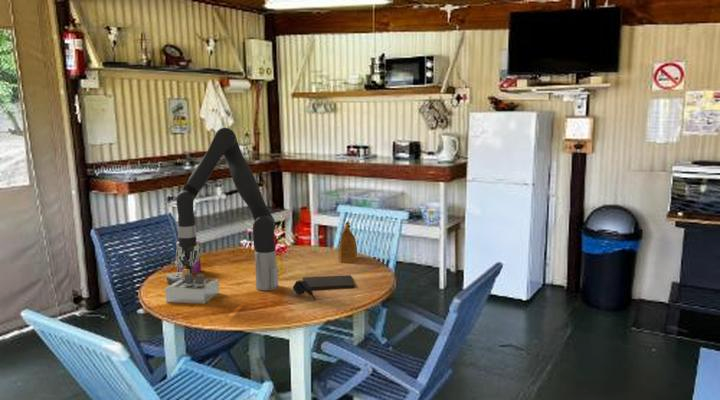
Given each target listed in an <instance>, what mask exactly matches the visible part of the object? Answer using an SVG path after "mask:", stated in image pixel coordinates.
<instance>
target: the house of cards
mask: <svg viewBox="0 0 720 400" xmlns="http://www.w3.org/2000/svg"><path fill="white" fill-rule="evenodd" d="M170 264H171V265H172V266H176V267H177V252H175V260H174V261H173V260H172V261H171V263H170Z"/></svg>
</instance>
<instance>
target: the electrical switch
mask: <svg viewBox="0 0 720 400" xmlns="http://www.w3.org/2000/svg"><path fill="white" fill-rule="evenodd" d="M164 277H165V278H166V281H167V282H166V283H167V284H170V285H172V284H173V283H175V282H177V281H178V280H180V279H181V278H183V277H182V272H173V273H169V274H164Z"/></svg>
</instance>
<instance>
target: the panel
mask: <svg viewBox="0 0 720 400" xmlns="http://www.w3.org/2000/svg"><path fill="white" fill-rule="evenodd" d="M193 282H195V284H196V278H193ZM204 282H206V284H205V285H204V286H202V287H201V286H195V284H193V285H192V286H184V283H185V281H183V280H181V279H180V280H178V281H177V282H175V283H173V284H170V285H169V286H167V287H165V288H164V290H165V291H164V292H165V302H166V303H178V304H179V303H181V304H182V303H184V304H203V305H204V304H206V303H207V302H208V301H210V300H211V299H212V298H214V297H215V296H216V295H218V294H219V293H220V287H219V285H220V284H219V279H216V278H215V279H213V278H211V279H210V278H204Z"/></svg>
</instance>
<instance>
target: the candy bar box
mask: <svg viewBox="0 0 720 400" xmlns="http://www.w3.org/2000/svg"><path fill="white" fill-rule="evenodd" d="M175 245H176V246H175V248H176V253H177V266H176V269H177V272H176V273H178V272H182V270H183V269H186V266H183V264H182V262H181V261H180V259H179V256H182V248H181V247H179V241H176V243H175ZM194 250H197V255H196V259H195V262H194V263H193V265H192V274H199V273H202V268H201V267H202V266H201V245H200V240H199V239H198V240H197V245H196V246H194ZM198 272H199V273H198Z"/></svg>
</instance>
